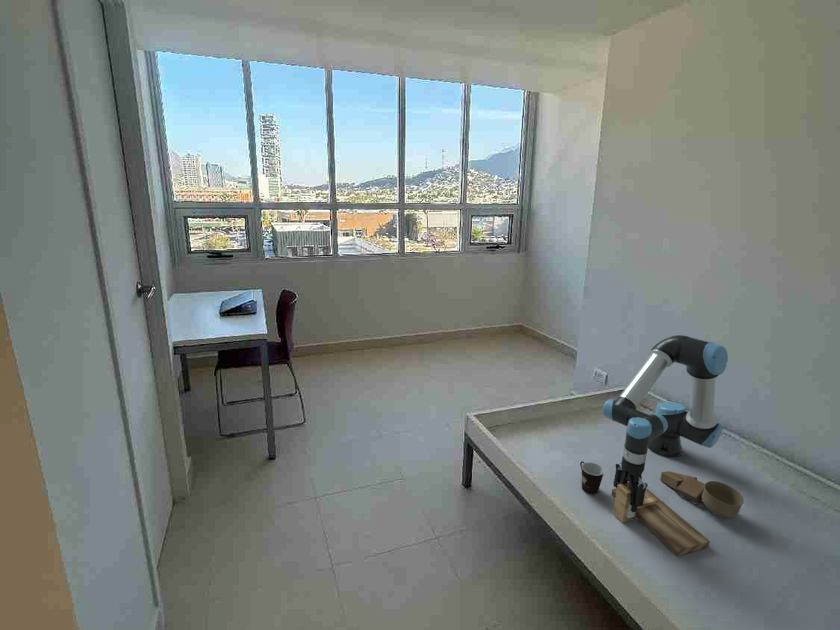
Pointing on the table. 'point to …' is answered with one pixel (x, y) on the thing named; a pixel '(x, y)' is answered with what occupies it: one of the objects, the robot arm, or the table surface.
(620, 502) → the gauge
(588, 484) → the coffee mug
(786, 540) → the table surface
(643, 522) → the board
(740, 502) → the bowl
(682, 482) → the brown wooden blocks
